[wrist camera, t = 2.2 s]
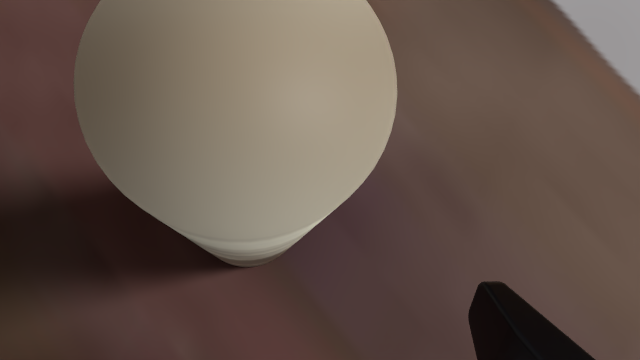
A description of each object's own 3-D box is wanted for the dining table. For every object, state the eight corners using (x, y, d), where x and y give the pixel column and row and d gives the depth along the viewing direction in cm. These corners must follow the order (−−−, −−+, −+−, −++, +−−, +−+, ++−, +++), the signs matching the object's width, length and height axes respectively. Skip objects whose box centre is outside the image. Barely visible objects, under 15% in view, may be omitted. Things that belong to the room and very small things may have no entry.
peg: (314, 247, 20) (441, 180, 7) (213, 281, 20) (125, 286, 6) (281, 151, 21) (337, -92, 7) (182, 182, 20) (36, -26, 6)
